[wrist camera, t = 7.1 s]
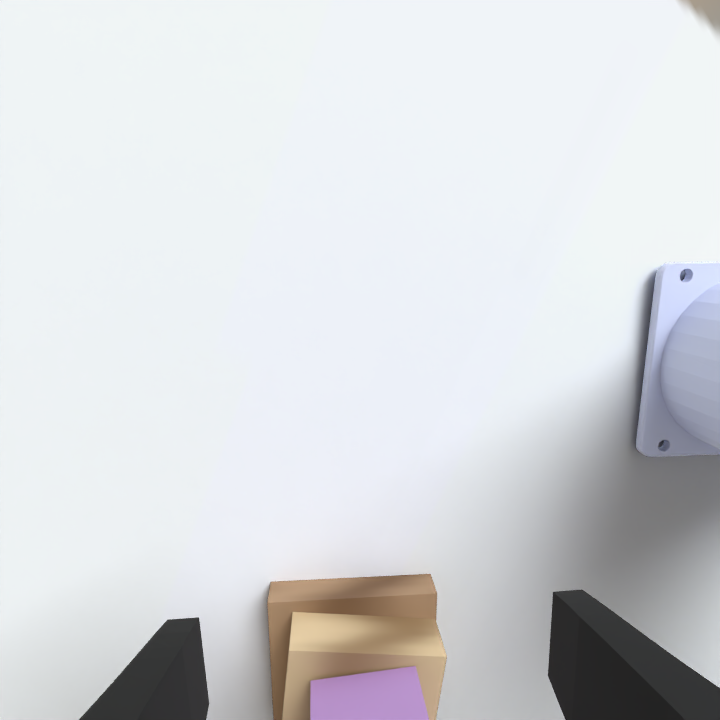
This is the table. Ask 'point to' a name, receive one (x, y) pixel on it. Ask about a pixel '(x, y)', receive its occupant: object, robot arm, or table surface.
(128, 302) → the table surface
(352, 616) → the oak tile
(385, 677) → the purple block
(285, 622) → the walnut tile
